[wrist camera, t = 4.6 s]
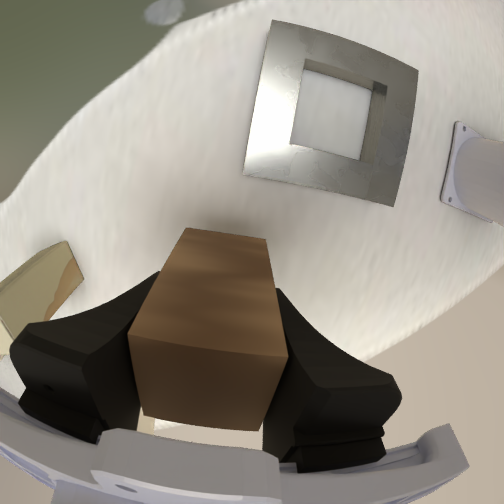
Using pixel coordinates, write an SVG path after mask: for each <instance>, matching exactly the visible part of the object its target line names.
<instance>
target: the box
mask: <svg viewBox="0 0 504 504" xmlns="http://www.w3.org/2000/svg"><path fill="white" fill-rule="evenodd" d="M83 279H84V278H83V276H82V274H81V272H80V270H79V268H78V265H77V263H76V261H75V259H74V257H73V254H72V252H71V250H70V248H69V245H68V243H67V241H63V242H60V243H58V244H55V245H53V246H51V247H49V248H47V249H45V250H42V251H41V252H39V253H37V254H36V255H34V256H33V257H32V258H30V259H29V260H28V261H26V262H25V263H24V264H23V265H21V266H20V267H19V268H18V269H16V270H15V271H14V272H13V273H11V274H10V275H9V276H8V277H6V278H5V279H4V280H3V281H2V282H1V283H0V355H10V353H9V348H10V345H11V344H12V342H13V341H14V340H15V339H16V337H17V336H18V335H19V334H20V332H21V331H22V330H23V329H24V328H25V326H26V325H27V324H28V323H35V322H42V321H49V319H50V318H51V317H52V316H53V315H54V313H55V312H56V311H57V310H58V309H59V307H60V306H61V305H62V304H63V303H64V302H65V300H66V299H67V298H68V297H69V296H70V294H71V293H72V292H73V291H74V290H75V289H76V288H77V286H78V285H79V284H80V283H81V282H82V281H83Z"/></svg>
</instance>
